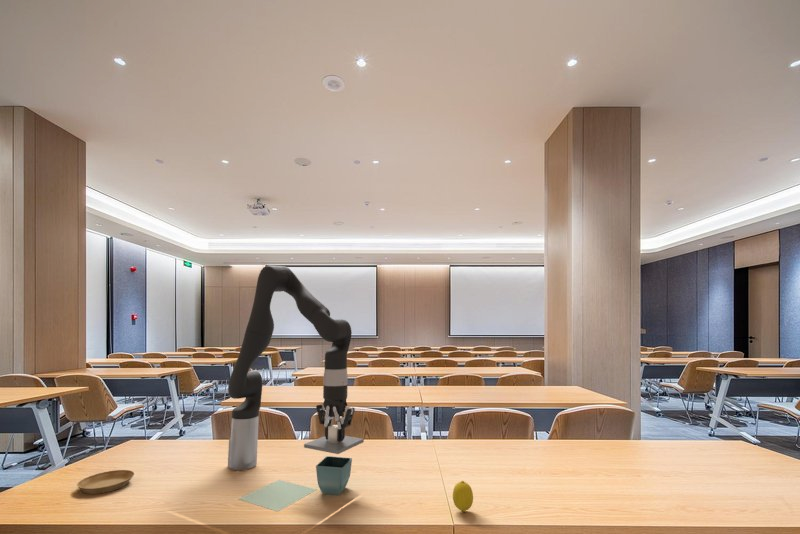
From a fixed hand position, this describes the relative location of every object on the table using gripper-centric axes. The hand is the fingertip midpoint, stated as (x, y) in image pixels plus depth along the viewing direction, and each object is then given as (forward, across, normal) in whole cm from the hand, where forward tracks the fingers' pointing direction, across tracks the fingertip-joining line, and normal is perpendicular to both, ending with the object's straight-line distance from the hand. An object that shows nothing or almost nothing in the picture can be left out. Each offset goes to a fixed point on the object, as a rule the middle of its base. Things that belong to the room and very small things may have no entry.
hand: (334, 439), depth 123 cm
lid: (+1, 0, 0) cm, 1 cm away
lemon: (+16, +39, +7) cm, 43 cm away
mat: (+15, -13, -10) cm, 22 cm away
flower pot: (+16, 0, 0) cm, 16 cm away
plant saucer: (+16, -67, -31) cm, 75 cm away
